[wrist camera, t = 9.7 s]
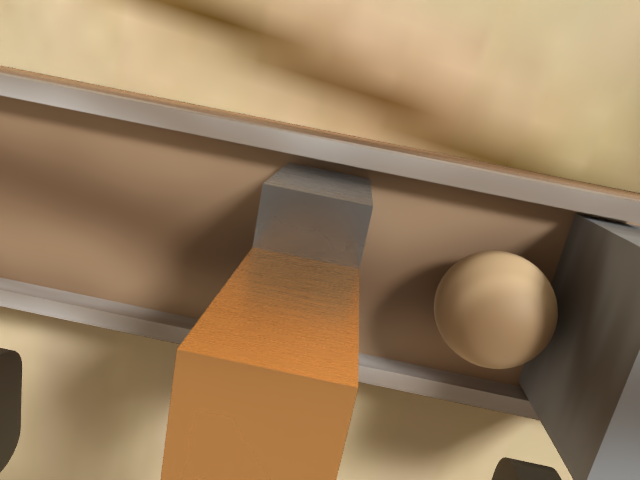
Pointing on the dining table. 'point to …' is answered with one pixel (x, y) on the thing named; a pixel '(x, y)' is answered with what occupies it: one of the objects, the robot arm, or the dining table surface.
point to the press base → (376, 264)
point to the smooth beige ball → (495, 309)
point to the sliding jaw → (277, 342)
